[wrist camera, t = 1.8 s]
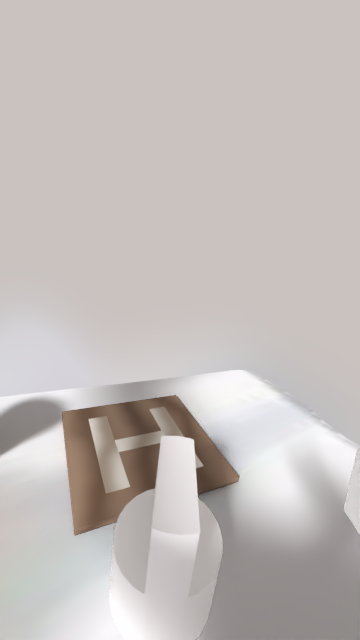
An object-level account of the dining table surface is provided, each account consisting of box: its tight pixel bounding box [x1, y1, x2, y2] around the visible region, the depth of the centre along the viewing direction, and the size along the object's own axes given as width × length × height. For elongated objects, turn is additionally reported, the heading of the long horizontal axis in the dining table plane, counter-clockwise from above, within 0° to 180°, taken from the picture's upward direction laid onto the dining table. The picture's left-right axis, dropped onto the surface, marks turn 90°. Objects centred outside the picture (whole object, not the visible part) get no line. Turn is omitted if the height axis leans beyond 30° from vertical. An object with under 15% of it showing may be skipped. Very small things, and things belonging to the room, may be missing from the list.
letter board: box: [62, 395, 239, 535], centre depth 41 cm, size 20×20×1 cm
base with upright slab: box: [109, 436, 223, 640], centre depth 23 cm, size 9×9×12 cm
